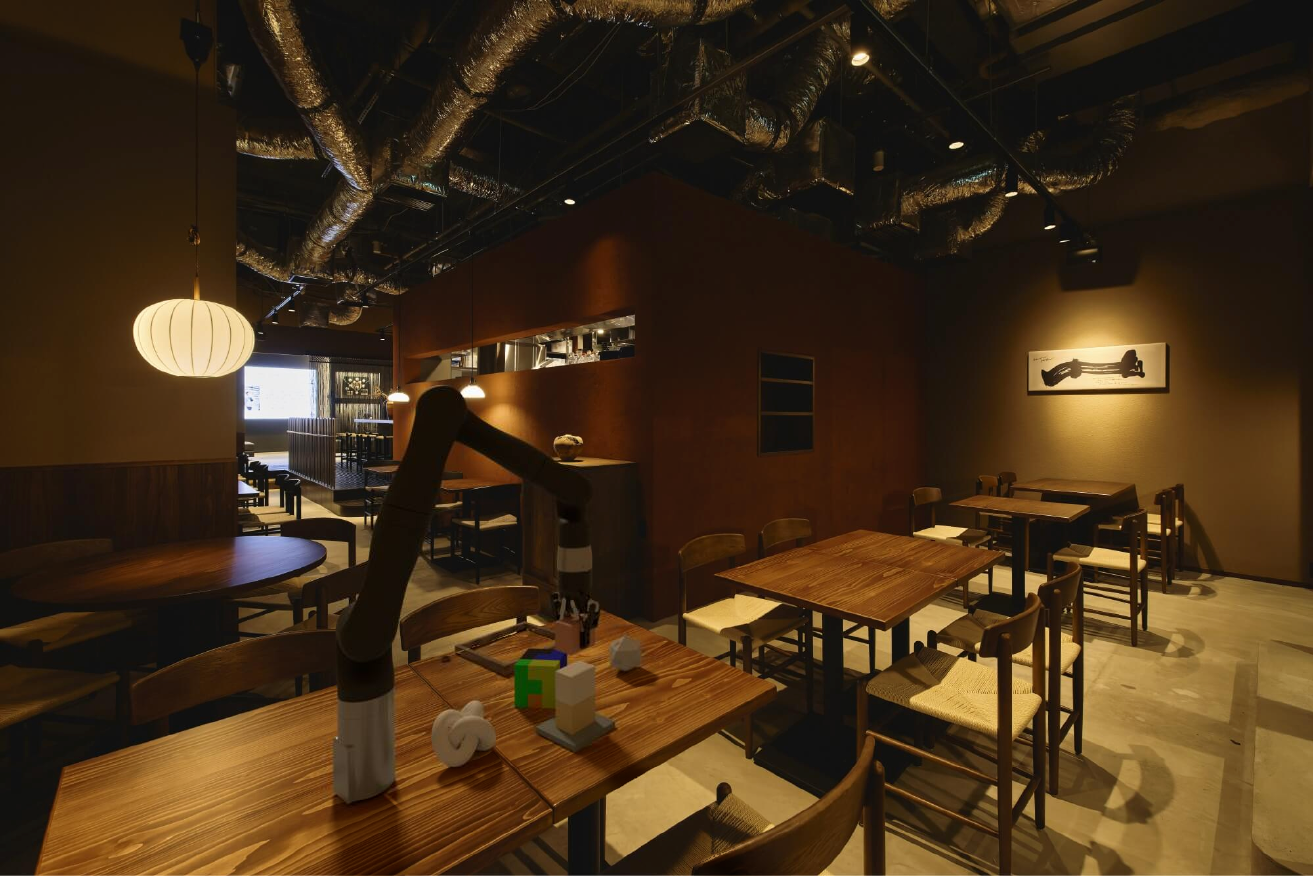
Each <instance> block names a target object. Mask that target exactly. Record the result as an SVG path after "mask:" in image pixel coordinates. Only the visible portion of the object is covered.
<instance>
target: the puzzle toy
mask: <svg viewBox="0 0 1313 876" xmlns="http://www.w3.org/2000/svg"><path fill="white" fill-rule="evenodd" d="M519 658H520V659H519V660H518V661H517V662H516V664H515V665H514V672H513V673H514V677H513V678H514V679H513V681H514V683H513V684H514V686H513V687H514V688H513V689H514V692H513V693H514V699H513V700H514V707H516V708H533V709H534V708H535V709H554V710H556V676H555V671H557V670H559V669H561V668H564V667H566V666H568V654H566V653H563V652H560V651H557V650H555V649H543V648H533V647H532V648H531V647H529V648H527V649H526V650H525V652H524V653H523V654H522V656H520V657H519Z"/></svg>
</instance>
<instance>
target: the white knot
mask: <svg viewBox="0 0 1313 876" xmlns="http://www.w3.org/2000/svg"><path fill="white" fill-rule="evenodd" d="M484 715H485V709H484V706H483V703H482V702H481V701H479V700H472V701H469V702H467V704H466V705H465V706H464V707H463V708H462V709H461V711H459V710H455V709H451V708H450V709H447V710H445V711H442V712H441V713H439V714H438V716H436V719H435V720H434V722H433V725H432V728H431V744H432V748H433V752H434V753H435V755H436V757H437V759H438V760H439V761H440V762H441V763H442V764H444V765H445V766H448V767H452V768H453V767H454V768H456V767H461V766H463V765H465V764H466V763H467V762H468V761H470V759H471V758H472V757H473V754H474V753H475V751H476V750H478V751H488V750H490V749H492V748H493V746H494V744H495V743H496V740H497V733H496V731H495V729H494V726H493V725H492V724H491V723H490V722H489V721H488V720H486V719H485V718H484ZM449 727H450V729H449Z"/></svg>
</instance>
